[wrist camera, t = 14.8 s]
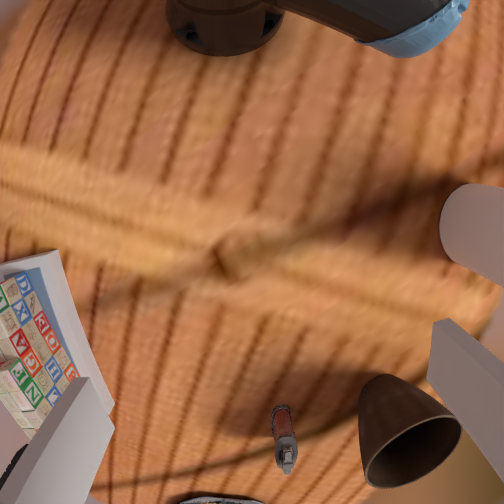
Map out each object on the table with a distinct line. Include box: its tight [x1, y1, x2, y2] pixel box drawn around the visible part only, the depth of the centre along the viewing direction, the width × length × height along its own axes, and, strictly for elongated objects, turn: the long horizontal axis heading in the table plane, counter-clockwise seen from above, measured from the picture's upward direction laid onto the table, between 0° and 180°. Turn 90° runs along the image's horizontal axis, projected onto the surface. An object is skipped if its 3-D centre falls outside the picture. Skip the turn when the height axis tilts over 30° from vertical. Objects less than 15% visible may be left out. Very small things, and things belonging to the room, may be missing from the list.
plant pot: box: [358, 375, 462, 489], centre depth 40 cm, size 15×15×16 cm
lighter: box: [271, 405, 298, 474], centre depth 43 cm, size 8×3×10 cm, turn 3°
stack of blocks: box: [0, 271, 80, 440], centre depth 34 cm, size 21×6×12 cm, turn 18°
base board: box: [0, 249, 115, 414], centre depth 42 cm, size 27×12×3 cm, turn 9°
